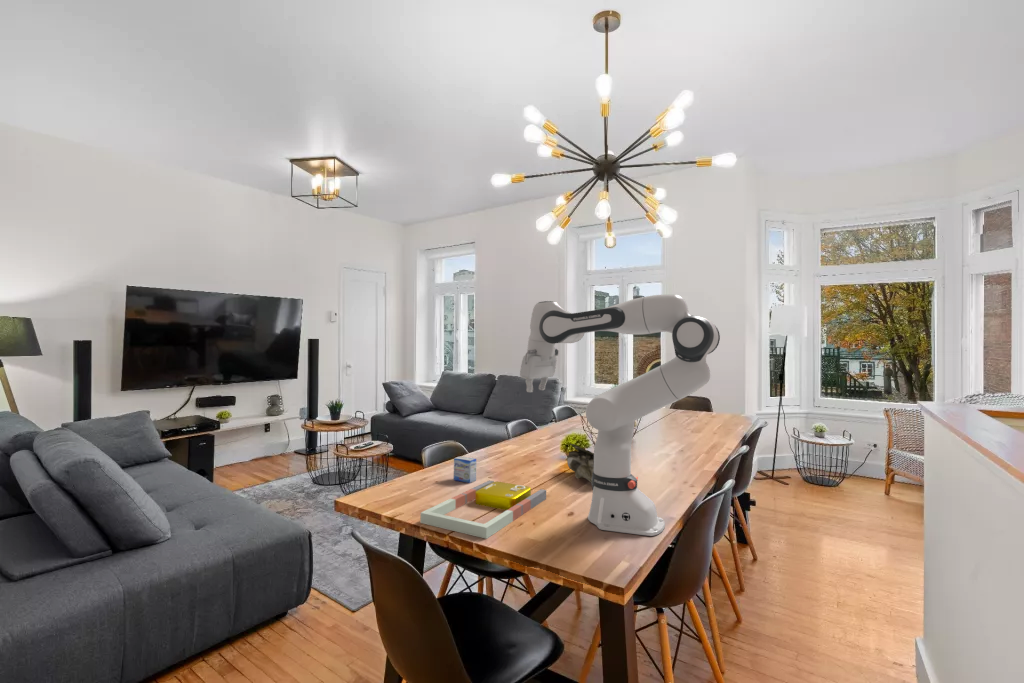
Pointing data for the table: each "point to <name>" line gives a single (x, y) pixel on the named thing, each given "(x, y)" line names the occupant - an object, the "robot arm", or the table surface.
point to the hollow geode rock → (581, 462)
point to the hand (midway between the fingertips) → (535, 391)
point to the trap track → (439, 519)
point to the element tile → (501, 495)
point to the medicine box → (464, 469)
